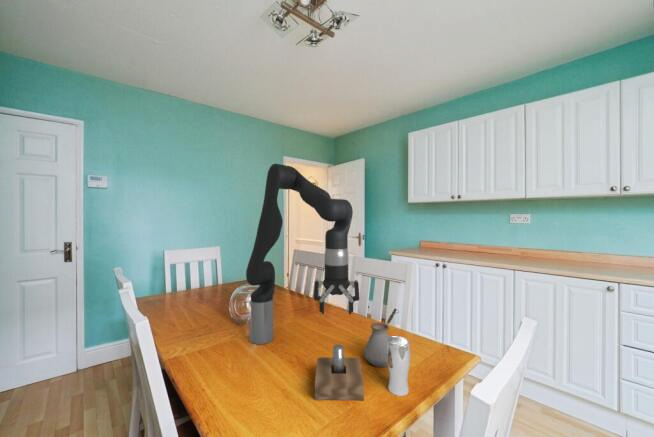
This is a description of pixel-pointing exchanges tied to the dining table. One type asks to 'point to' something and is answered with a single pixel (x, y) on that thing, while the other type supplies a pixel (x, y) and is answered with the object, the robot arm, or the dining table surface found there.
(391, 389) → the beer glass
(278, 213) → the robot arm
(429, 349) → the dining table surface
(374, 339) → the coffee pot
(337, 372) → the pin
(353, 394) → the bore block
